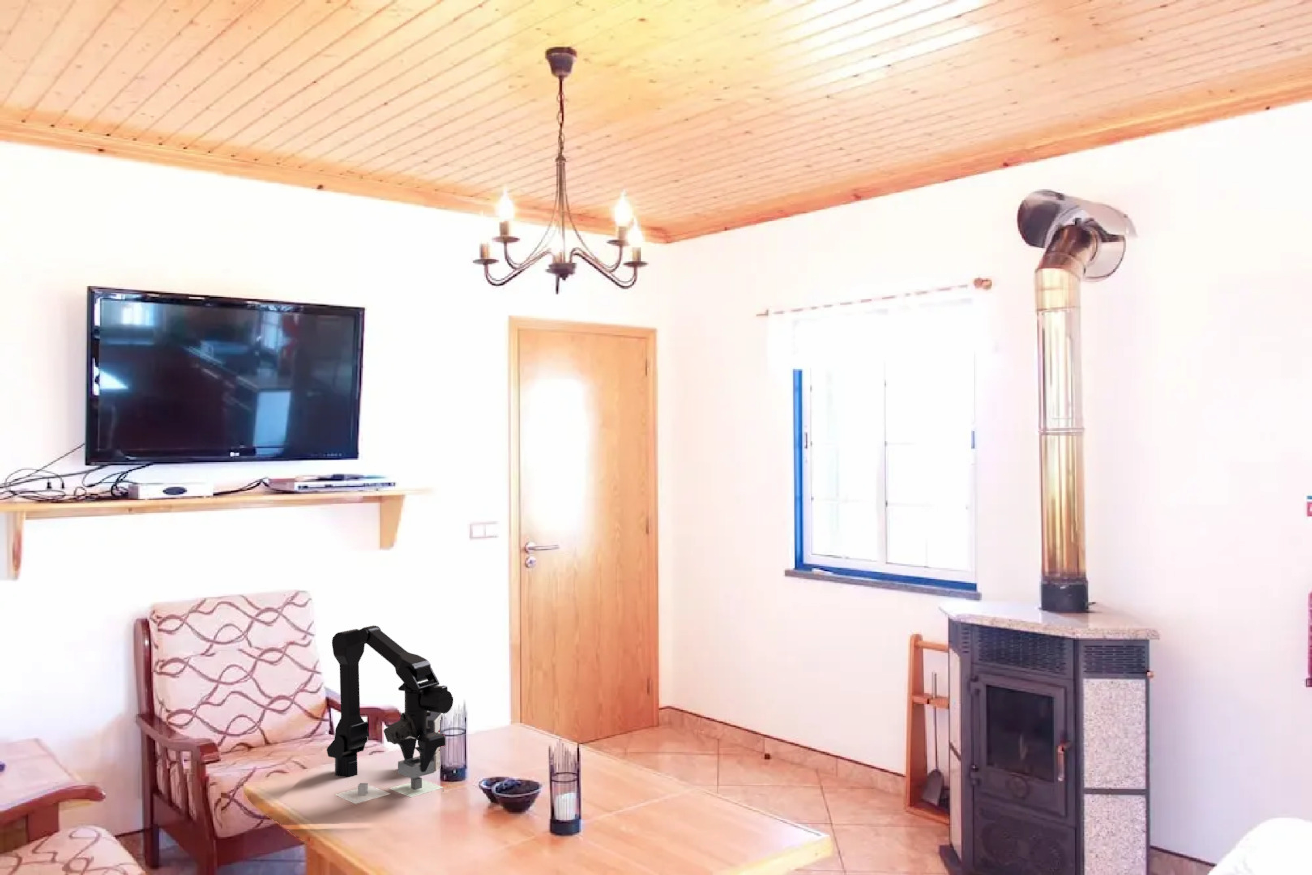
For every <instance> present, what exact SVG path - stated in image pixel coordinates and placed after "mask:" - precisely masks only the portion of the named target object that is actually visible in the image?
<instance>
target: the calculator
mask: <svg viewBox="0 0 1312 875" xmlns="http://www.w3.org/2000/svg"><path fill="white" fill-rule="evenodd" d="M429 712H431V711H429ZM440 720H441V713H437V712H431V716H428V717H427V727H430V728H431V732H427V733H426V734H430V733H434V732H436V733H439V734H440ZM431 760H432V761H434V772H436V771H438V770H440V768H441V767H440V747H438V748H437V750H436V752H435V753H434V755H433V757H432V759H431ZM439 767H440V768H439Z"/></svg>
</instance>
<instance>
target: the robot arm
mask: <svg viewBox="0 0 1312 875" xmlns="http://www.w3.org/2000/svg"><path fill="white" fill-rule="evenodd" d="M366 644H367V645H368V646H369V647H370V648H372V649H373V650H374V651H375V652H376V653H377V654H378V655H380V656H381V657H382V658H384V659H385V660H386V661H387V662H388V663H390V664H391V665H392V666H393V667H394V669H395V674H396V675H397V677H398V678H400V680H401V681H402V683H401V685H400V686H399V687H397V688H398V691H400V692H401V691H403V692H404V712H401V714H400V720H398V721H395V722H393V723H391V724H390V725H388V726H387V727H385V728H384V729H383V733H384V736H385V738H386V742H387V743H392V745H398V746H399V748H400V750H401V753H402V756H403V760H406V759H410V758H414V755H415V750H416V751H417V752H418V754H419V756H420V764H421V771H422V772H425V771H426V770H427V768H428V766H429V763H430V761H431V759H432V757H433V755H434V753H435V752H436V750H437V748H438V747H441V746H444V747H445V746H446V744H447V740H446V739H447V738H446V735H445V734H444V735H442V734H439V733H436V732H434V733H430V734H426V733H427V732H431V728H430V727H427V717H428V716H431V712H437V713H443V714H444V715H445V714H448V713H449V711H451V709H452V707H453V705H454V697H453V694H452V692H450V691H449V690H448V685H440V681H439V679H438V677H437V675H436V674H435V672H434V670H433V668H432V667H431V665H432V664H431V663H430V662H429V660H428V659H426V658H425V657H422V656H421V655H419V654H415V653H412V652H409V651H407V650H405V649H404V648H403V647H402V646H401V645H399V644H398V643H397V642H396V641H395V640H393V639H392V638H391V637H390V636H388V635H387V633H385V632H383V631H382V630H381V627H379V626H378V625H370V626H365V627H362V628H360V629H358V628H354V629H349V630H344V631H340V632H339V631H338V632H337V633H335V634H334V636H333V637H332V639H331V645H332V646H331V647H332V653H333V656H334V658H335V659H336V661H337V662H338V665H339V688H340V691H339V692H340V719H339V721H338V722H337V725H336V727H335V730H334V731H335V732H334V739H333V740H332V742H331V743H330V744H329V745H328V747H326V753H327V757H329V758H334V775H335V776H337V777H345V778H351V777H356V776H358V753H361V752H364V751H365V750H364V749H365V747H366V744H367V742H368V738H369V737H370V734H369V722H368V721H365V720H364V719H363V718H362V716H361V706H360V705H361V703H360V702H361V700H360V697H361V696H360V669H359V668H360V667H359V664H360V661H361V659H362V657H363V655H364V652H365V646H366ZM429 711H431V712H429ZM416 745H418V746H417V747H416Z"/></svg>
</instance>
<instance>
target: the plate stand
mask: <svg viewBox="0 0 1312 875" xmlns="http://www.w3.org/2000/svg"><path fill="white" fill-rule="evenodd" d="M389 795H391V793H389V792H387V791H385V790H382V789H380V788H377V787H375V786H373V785H369V783H368V782H359V784H357V788H356V789H355V788H354V789H351V790H347V791H343V792H340V793H336V794H335V796H336V797H339V798H341V799H343V800H346V801H347V802H350V803H352V804H354V805H358V804H361V803H364V802H367V801H370V800H375V799H379V798H382V797H386V796H389Z"/></svg>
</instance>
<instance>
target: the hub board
mask: <svg viewBox="0 0 1312 875" xmlns="http://www.w3.org/2000/svg"><path fill="white" fill-rule="evenodd" d="M443 788H444V786H442V785H438V784H436V783H434V782H430V781H428V780H426V779H423V778H422V777H421V776H420V777H417V778H413V779H412V778H410V782H407V783H404V784H399V785H397V786H393V787H390V788H388V789H389V790H391V791H393V792H396V793H399V794H402V795H404V796H407V797H408V798H414V797H416V796H420V795H424V794H427V793H430V792H431V793H432V792H434V791H437V790H440V789H443ZM442 791H443V792H445V790H444V789H443V790H442Z"/></svg>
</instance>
